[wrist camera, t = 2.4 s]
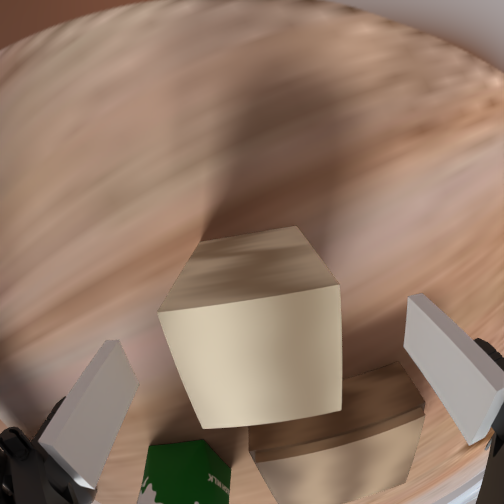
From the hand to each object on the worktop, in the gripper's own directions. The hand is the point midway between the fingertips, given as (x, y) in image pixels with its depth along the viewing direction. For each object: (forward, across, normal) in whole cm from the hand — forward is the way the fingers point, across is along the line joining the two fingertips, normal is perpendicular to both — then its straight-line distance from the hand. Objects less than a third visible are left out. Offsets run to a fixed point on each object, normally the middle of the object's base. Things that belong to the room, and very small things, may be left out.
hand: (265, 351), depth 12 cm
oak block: (+9, 0, 0) cm, 9 cm away
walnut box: (+9, +5, -18) cm, 21 cm away
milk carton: (+9, -11, -21) cm, 26 cm away
